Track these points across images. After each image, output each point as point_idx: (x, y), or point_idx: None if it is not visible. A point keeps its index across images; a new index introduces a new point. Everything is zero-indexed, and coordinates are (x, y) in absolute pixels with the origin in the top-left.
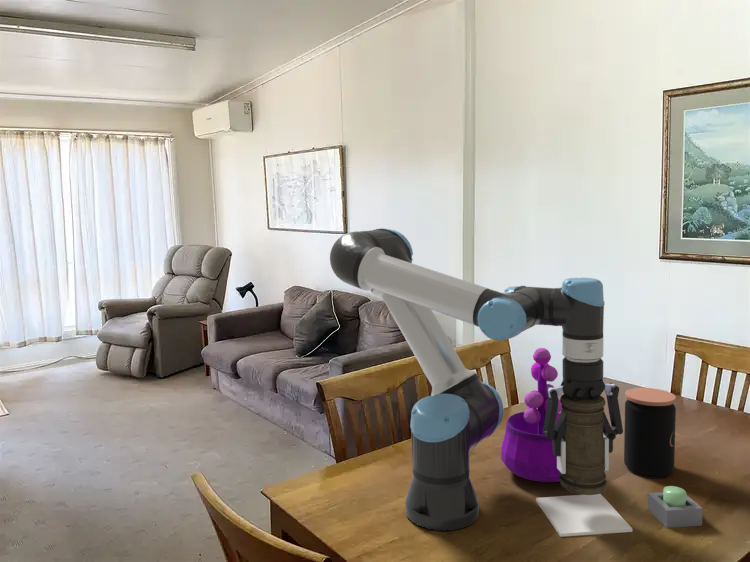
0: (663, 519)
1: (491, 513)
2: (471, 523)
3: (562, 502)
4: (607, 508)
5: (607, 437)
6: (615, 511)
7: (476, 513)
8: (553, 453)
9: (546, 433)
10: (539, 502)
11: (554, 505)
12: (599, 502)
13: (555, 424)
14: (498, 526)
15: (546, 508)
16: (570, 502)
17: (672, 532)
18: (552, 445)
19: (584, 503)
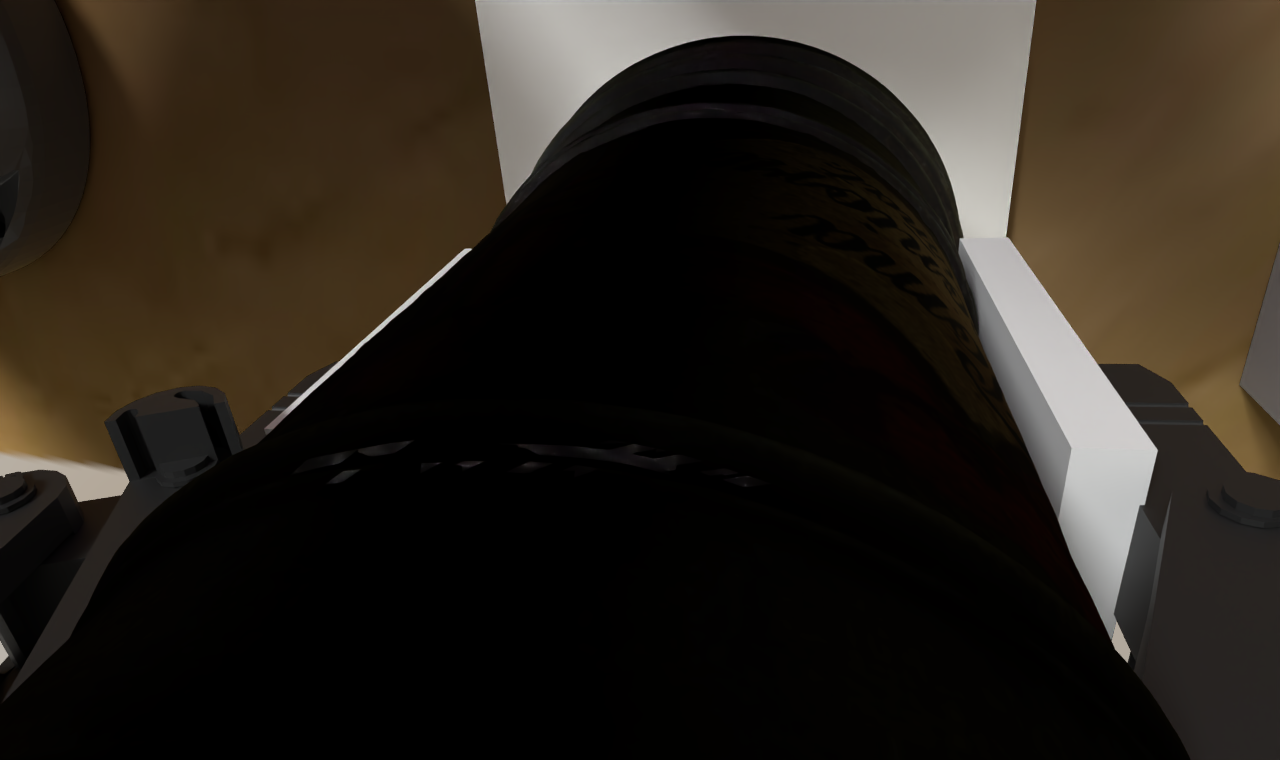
0: (1268, 365)
1: (166, 97)
2: (67, 224)
3: (654, 15)
4: (966, 143)
5: (1123, 620)
6: (1003, 190)
7: (57, 185)
8: (334, 365)
9: (8, 659)
10: (478, 4)
11: (581, 60)
12: (954, 38)
13: (65, 594)
14: (219, 253)
15: (513, 103)
16: (716, 23)
17: (1234, 431)
18: (261, 418)
19: (822, 48)
